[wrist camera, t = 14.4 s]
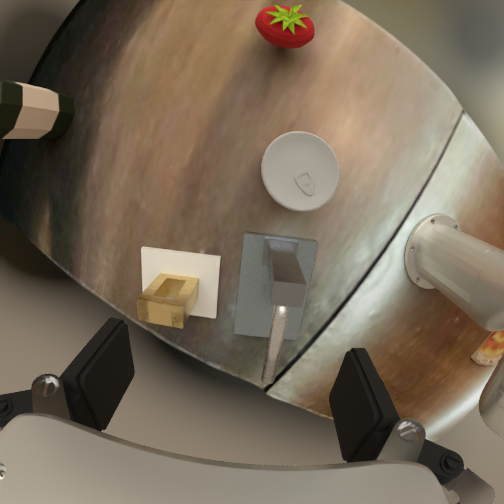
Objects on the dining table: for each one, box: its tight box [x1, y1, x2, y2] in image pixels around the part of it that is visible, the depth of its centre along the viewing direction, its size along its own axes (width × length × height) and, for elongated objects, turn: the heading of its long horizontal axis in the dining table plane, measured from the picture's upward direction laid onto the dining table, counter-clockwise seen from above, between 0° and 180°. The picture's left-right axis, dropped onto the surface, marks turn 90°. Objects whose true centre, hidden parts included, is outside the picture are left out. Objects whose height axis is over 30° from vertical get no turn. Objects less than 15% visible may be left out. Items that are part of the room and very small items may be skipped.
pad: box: [141, 247, 221, 318], centre depth 40 cm, size 12×10×1 cm
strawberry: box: [255, 4, 314, 48], centre depth 25 cm, size 6×8×10 cm
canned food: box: [261, 131, 340, 212], centre depth 30 cm, size 8×8×11 cm
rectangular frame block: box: [137, 273, 199, 328], centre depth 36 cm, size 6×3×9 cm, turn 84°
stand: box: [234, 231, 318, 384], centre depth 33 cm, size 10×16×14 cm, turn 173°
